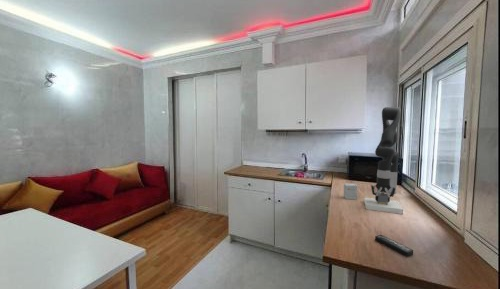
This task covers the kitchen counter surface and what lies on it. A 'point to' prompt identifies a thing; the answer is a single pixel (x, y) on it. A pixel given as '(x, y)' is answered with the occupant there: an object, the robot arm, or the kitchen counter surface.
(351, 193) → the small box
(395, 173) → the robot arm
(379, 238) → the multiport hub
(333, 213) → the kitchen counter surface
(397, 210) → the socket plate
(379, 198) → the plug
